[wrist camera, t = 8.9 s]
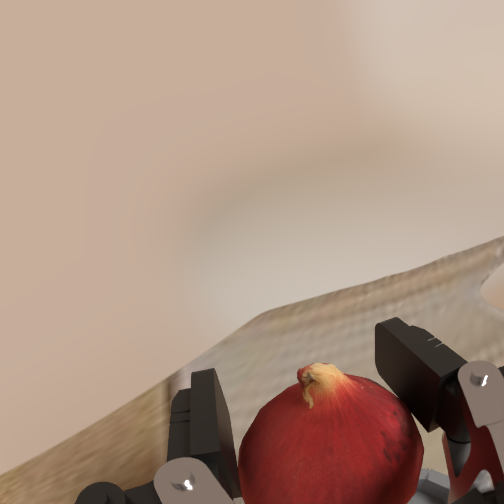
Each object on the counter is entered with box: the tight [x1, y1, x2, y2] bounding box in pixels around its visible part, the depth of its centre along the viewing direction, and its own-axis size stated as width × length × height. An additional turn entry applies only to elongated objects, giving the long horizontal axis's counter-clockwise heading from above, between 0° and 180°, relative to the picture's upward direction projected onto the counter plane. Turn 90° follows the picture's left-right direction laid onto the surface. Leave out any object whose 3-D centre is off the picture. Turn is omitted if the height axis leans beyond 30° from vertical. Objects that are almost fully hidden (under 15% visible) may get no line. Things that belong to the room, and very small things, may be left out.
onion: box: [238, 363, 424, 504], centre depth 8 cm, size 6×6×8 cm
